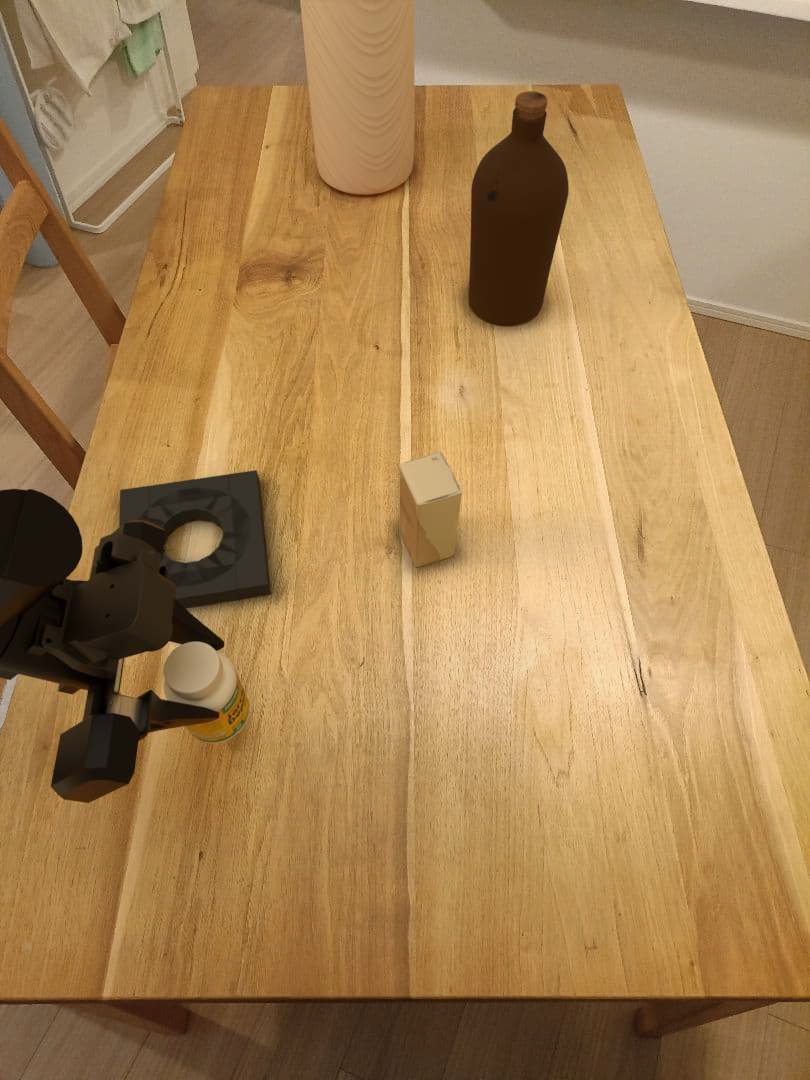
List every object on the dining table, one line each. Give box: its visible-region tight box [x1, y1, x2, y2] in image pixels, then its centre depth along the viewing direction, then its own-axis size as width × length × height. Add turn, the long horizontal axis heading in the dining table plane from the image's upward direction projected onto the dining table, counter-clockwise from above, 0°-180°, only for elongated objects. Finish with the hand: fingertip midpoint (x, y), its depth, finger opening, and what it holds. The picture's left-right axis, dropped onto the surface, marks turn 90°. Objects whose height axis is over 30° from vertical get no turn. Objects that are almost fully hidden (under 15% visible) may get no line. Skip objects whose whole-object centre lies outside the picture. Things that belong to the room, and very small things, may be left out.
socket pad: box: [118, 469, 272, 609], centre depth 76 cm, size 14×14×2 cm
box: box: [398, 451, 463, 568], centre depth 73 cm, size 5×4×11 cm
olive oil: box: [467, 90, 570, 327], centre depth 87 cm, size 11×11×25 cm
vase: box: [300, 0, 415, 196], centre depth 100 cm, size 14×14×32 cm
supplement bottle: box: [163, 642, 251, 745], centre depth 59 cm, size 5×5×10 cm
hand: (219, 681), depth 57 cm, fingers closed on supplement bottle, 5 cm apart
